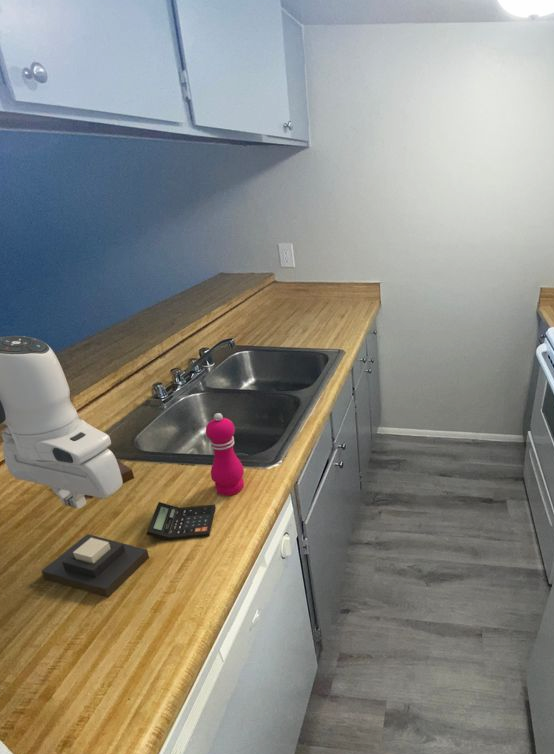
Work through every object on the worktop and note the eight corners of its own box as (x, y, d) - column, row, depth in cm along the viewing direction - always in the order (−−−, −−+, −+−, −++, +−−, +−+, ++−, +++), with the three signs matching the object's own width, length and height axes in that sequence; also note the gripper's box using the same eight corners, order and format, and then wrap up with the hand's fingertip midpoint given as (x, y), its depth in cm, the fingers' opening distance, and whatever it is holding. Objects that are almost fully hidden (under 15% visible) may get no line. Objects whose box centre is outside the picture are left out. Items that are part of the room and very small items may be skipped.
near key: (75, 559, 86) (72, 552, 85) (93, 544, 89) (91, 537, 88) (93, 564, 85) (90, 557, 84) (111, 549, 88) (108, 542, 87)
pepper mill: (223, 477, 115) (210, 404, 106) (251, 480, 114) (240, 407, 105) (208, 495, 109) (193, 419, 99) (237, 499, 108) (225, 423, 99)
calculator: (209, 536, 97) (206, 525, 96) (148, 543, 95) (144, 531, 93) (215, 507, 105) (213, 496, 104) (159, 512, 103) (156, 502, 102)
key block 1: (61, 476, 113) (56, 460, 111) (105, 458, 120) (100, 443, 118) (90, 498, 106) (84, 482, 104) (134, 478, 114) (130, 462, 111)
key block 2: (44, 579, 86) (37, 563, 84) (90, 542, 94) (84, 526, 93) (108, 597, 83) (102, 581, 81) (149, 557, 91) (145, 542, 90)
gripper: (-21, 435, 75) (10, 504, 81) (85, 458, 70) (108, 529, 77) (18, 417, 80) (44, 483, 87) (118, 437, 76) (137, 505, 82)
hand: (75, 505), depth 82 cm, fingers closed
